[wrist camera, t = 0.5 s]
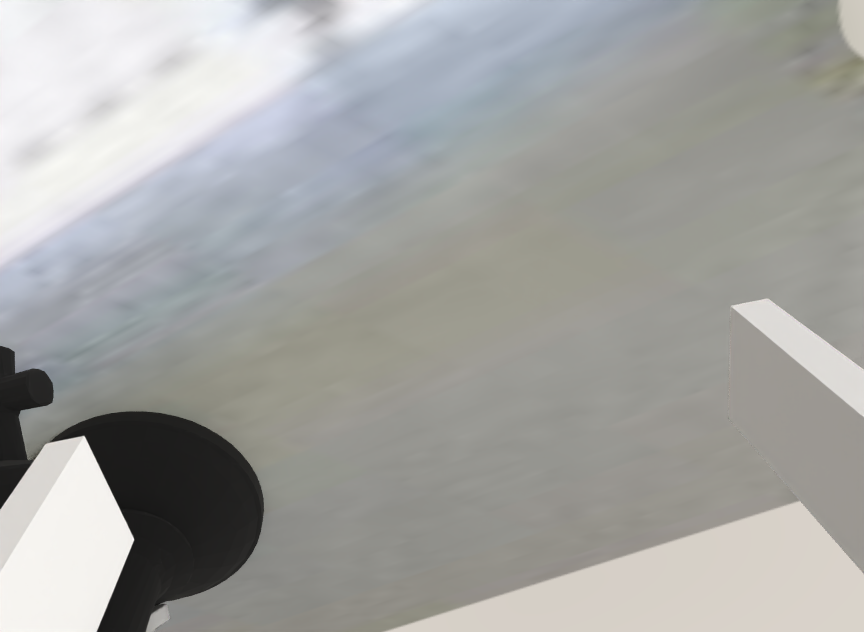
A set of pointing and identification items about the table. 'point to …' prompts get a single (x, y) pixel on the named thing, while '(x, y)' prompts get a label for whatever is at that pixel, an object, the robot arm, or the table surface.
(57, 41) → the table surface
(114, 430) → the sculpture
